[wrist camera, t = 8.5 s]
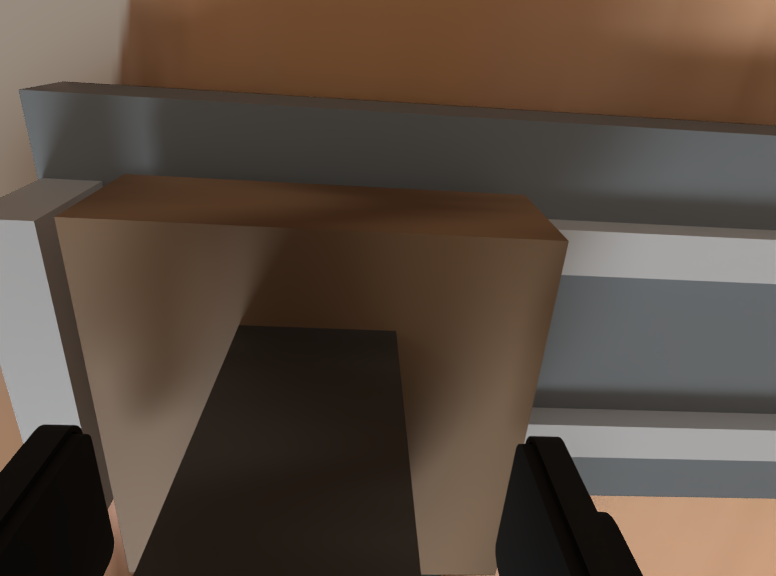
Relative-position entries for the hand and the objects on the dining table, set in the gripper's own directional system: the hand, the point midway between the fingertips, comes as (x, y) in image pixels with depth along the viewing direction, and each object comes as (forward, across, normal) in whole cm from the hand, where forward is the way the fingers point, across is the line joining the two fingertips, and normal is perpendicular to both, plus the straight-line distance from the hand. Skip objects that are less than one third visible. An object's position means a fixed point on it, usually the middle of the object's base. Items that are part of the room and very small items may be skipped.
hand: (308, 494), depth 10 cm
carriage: (+5, 0, 0) cm, 5 cm away
